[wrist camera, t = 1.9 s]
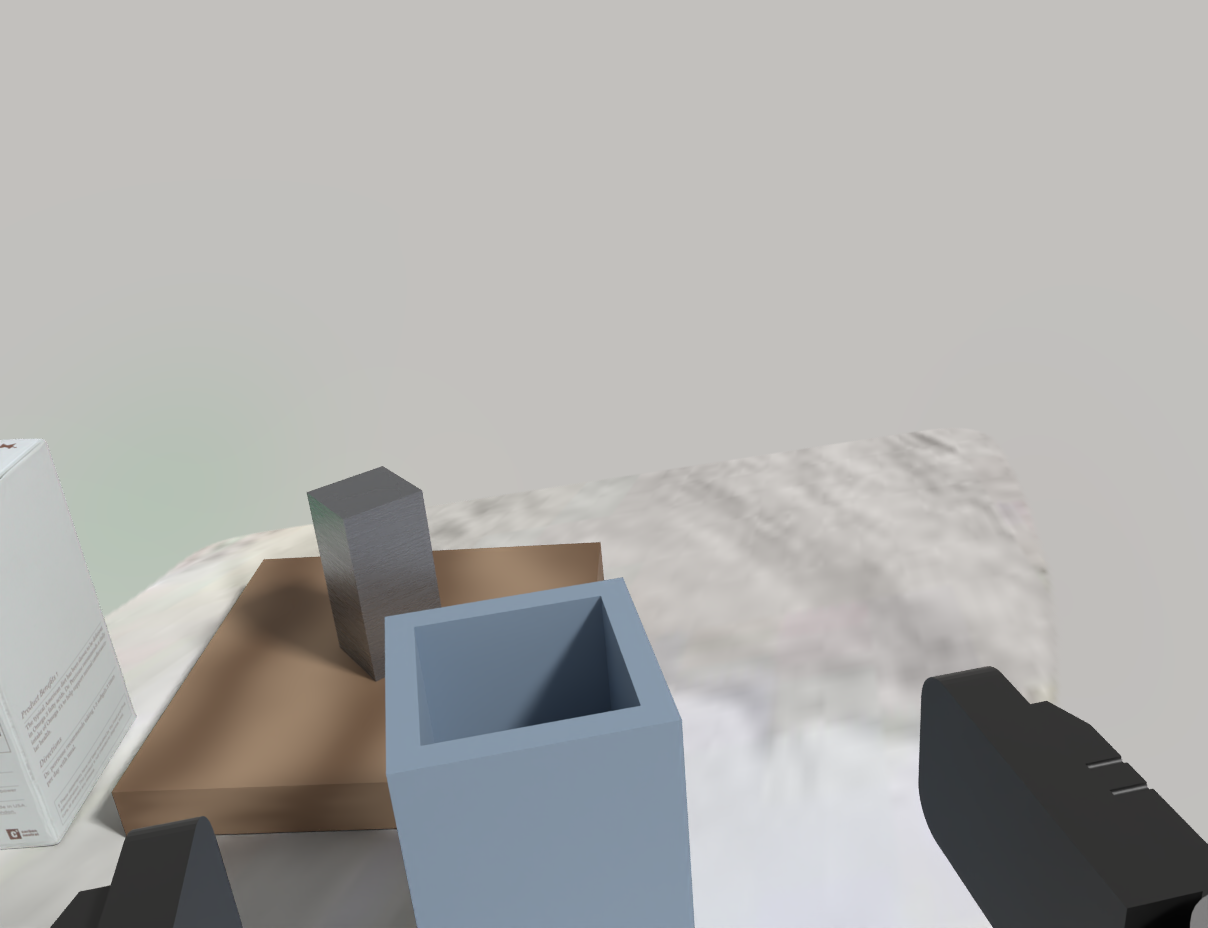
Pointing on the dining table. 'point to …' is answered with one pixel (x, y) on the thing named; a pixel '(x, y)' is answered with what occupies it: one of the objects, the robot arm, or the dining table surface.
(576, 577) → the base plate
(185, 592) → the dining table surface
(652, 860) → the sleeve
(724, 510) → the dining table surface
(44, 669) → the supplement box
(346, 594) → the post
